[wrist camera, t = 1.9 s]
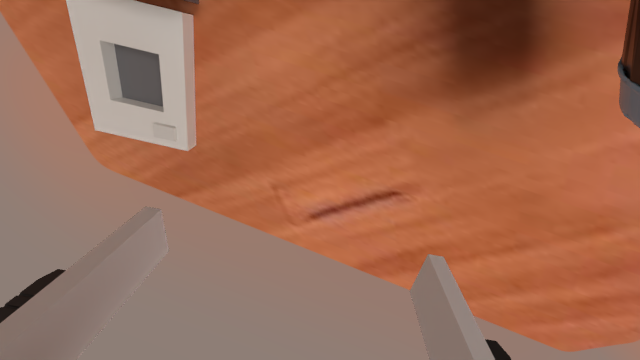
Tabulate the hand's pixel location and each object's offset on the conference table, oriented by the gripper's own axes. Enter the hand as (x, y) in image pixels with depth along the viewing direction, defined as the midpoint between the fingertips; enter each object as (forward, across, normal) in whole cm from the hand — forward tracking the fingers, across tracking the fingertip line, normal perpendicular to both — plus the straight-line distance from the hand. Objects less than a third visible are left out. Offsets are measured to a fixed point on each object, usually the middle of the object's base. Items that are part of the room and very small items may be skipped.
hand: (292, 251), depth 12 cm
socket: (+27, -26, +2) cm, 38 cm away
